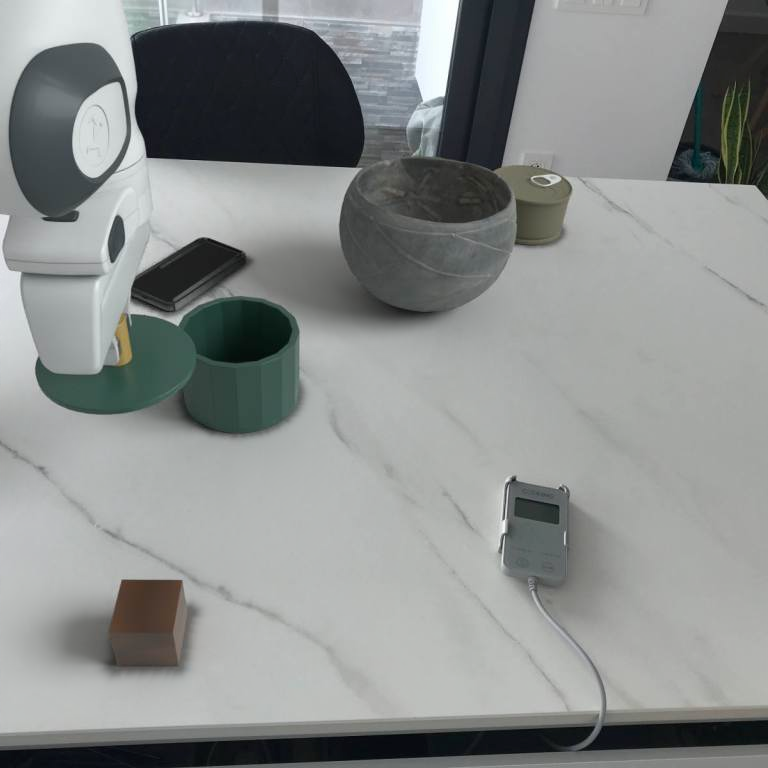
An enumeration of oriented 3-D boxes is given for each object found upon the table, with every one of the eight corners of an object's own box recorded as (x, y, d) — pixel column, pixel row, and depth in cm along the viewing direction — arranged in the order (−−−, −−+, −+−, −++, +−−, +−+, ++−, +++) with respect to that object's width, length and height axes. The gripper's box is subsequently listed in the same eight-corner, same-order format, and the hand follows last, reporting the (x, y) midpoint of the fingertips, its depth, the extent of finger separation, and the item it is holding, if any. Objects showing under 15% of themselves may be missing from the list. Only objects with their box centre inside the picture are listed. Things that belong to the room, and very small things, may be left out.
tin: (285, 440, 77) (285, 374, 72) (169, 424, 78) (160, 358, 72) (307, 367, 86) (308, 304, 81) (203, 354, 87) (197, 290, 81)
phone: (249, 253, 101) (171, 305, 91) (249, 260, 102) (172, 313, 92) (202, 235, 104) (120, 284, 94) (202, 242, 105) (122, 291, 94)
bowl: (528, 289, 102) (552, 183, 93) (446, 365, 88) (465, 250, 79) (396, 236, 111) (406, 134, 101) (303, 298, 97) (304, 187, 87)
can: (465, 216, 117) (472, 173, 112) (525, 200, 122) (534, 159, 118) (517, 253, 109) (527, 208, 105) (578, 234, 115) (590, 192, 111)
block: (117, 666, 58) (108, 632, 55) (129, 613, 61) (121, 579, 58) (178, 665, 58) (172, 632, 55) (187, 613, 61) (182, 579, 59)
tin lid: (169, 430, 60) (162, 379, 57) (9, 409, 61) (-8, 357, 57) (215, 334, 70) (211, 285, 67) (76, 316, 70) (65, 267, 67)
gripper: (77, 129, 62) (104, 276, 71) (-9, 263, 47) (39, 429, 56) (157, 134, 63) (174, 278, 72) (98, 268, 47) (129, 431, 56)
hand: (114, 345), depth 64 cm, fingers closed on tin lid, 2 cm apart
